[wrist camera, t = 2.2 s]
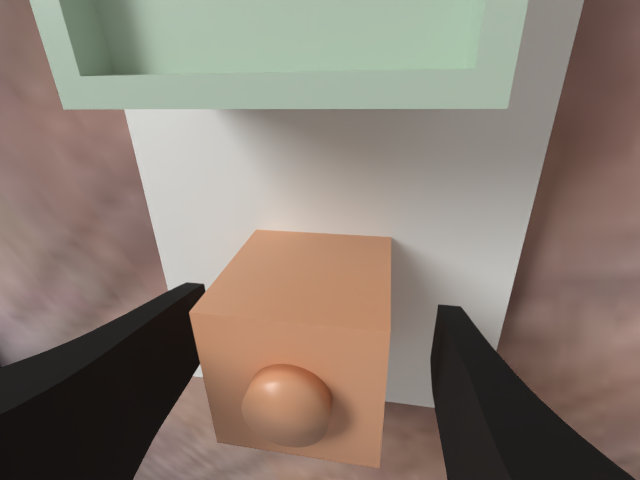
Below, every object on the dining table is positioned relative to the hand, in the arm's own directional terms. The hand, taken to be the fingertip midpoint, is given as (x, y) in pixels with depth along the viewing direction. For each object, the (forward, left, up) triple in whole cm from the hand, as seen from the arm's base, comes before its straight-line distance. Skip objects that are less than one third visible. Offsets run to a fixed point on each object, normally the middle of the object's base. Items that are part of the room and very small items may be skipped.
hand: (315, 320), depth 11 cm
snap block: (0, 0, -2) cm, 2 cm away
